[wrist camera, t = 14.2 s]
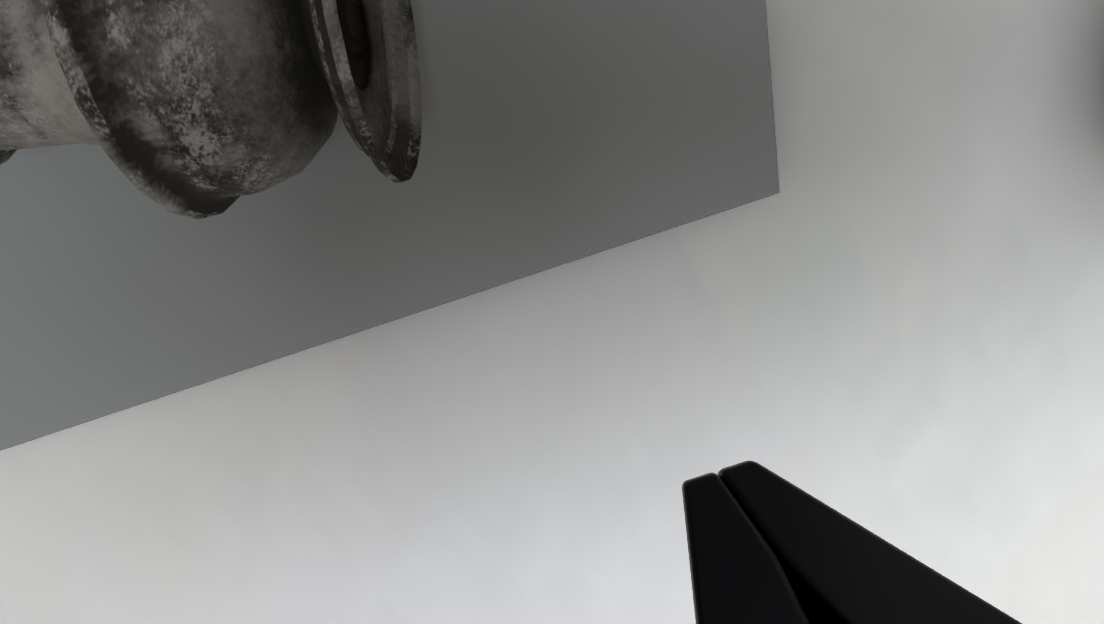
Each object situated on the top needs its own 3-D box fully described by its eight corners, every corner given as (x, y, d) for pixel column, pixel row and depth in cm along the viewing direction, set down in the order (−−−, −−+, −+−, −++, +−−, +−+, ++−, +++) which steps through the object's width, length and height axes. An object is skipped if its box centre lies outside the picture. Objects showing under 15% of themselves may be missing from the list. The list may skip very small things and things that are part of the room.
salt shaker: (436, 204, 15) (-121, 255, 15) (404, -97, 14) (-179, -34, 15) (350, 193, 9) (-542, 275, 10) (288, -318, 8) (-672, -202, 9)
